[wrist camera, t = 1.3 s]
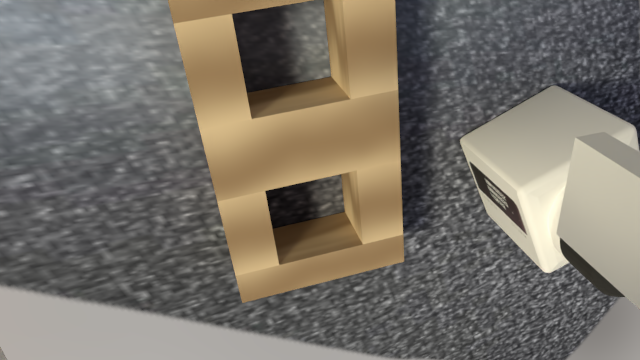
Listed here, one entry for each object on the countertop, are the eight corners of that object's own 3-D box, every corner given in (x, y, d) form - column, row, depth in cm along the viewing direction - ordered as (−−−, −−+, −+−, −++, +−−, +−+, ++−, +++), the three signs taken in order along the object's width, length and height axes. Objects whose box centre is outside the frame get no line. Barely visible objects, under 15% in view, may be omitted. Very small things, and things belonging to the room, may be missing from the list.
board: (161, -39, 27) (161, -27, 24) (366, -69, 29) (392, -63, 25) (235, 264, 37) (242, 302, 34) (383, 228, 39) (404, 261, 36)
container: (486, 214, 41) (603, 336, 30) (456, 137, 37) (580, 245, 26) (574, 164, 41) (725, 268, 30) (554, 81, 37) (721, 166, 26)
